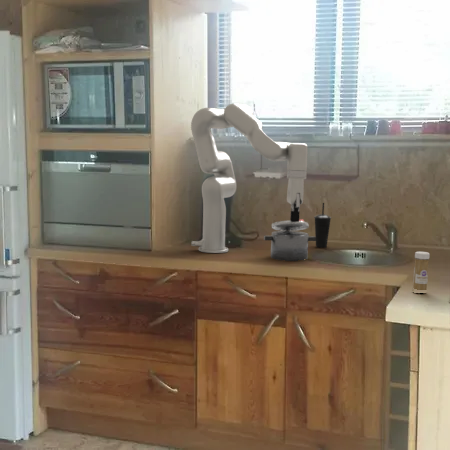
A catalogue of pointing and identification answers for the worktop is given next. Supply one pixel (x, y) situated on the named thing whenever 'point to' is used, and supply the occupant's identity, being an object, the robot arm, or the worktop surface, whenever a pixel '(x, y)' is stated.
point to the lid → (290, 225)
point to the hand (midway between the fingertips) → (294, 221)
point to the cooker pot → (289, 245)
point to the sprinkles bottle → (421, 270)
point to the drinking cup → (322, 229)
